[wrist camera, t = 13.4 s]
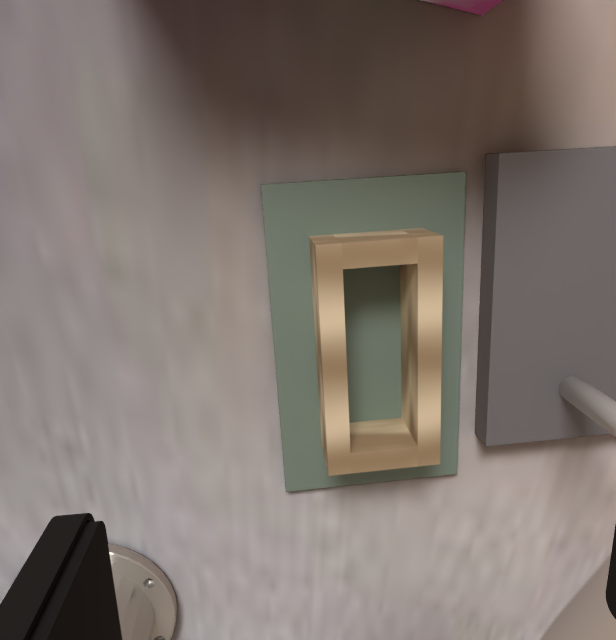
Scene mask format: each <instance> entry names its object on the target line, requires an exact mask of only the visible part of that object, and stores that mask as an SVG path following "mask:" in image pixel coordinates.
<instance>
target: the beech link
mask: <svg viewBox="0 0 616 640" xmlns="http://www.w3.org/2000/svg"><path fill="white" fill-rule="evenodd" d="M309 245H310V261H311V278H312V294H313V311H314V327H315V344H316V360H317V377H318V393H319V409H320V426H321V442H322V448H323V453H324V457H325V462H326V466H327V471H328V475H329V476H333V475H342V474H351V473H361V472H370V471H380V470H389V469H399V468H408V467H418V466H427V465H437V464H440V437H441V367H442V296H443V235H440V234H438V233H435V232H432V231H430V230H427V229H424V228H413V229H400V230H386V231H373V232H359V233H346V234H332V235H319V236H309ZM391 265H400V309H401V408H402V418H393V419H383V420H373V421H363V422H353V423H349V403H348V379H347V356H346V332H345V309H344V286H343V269H353V268H366V267H378V266H391Z"/></svg>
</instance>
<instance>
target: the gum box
mask: <svg viewBox="0 0 616 640" xmlns="http://www.w3.org/2000/svg"><path fill="white" fill-rule="evenodd" d="M421 1H425V2H430V3H434V4H439V5H443V6H447V7H451V8H455V9H458V10H462V11H466V12H470V13H474V14H477V15H480V16H481V15H483V14H484V13H486V12H487V11H489V10H490V9H492V8H493V7H494V6H496V5H497V4H499V3H500V2H502V1H503V0H421Z"/></svg>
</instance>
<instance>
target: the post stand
mask: <svg viewBox="0 0 616 640" xmlns="http://www.w3.org/2000/svg"><path fill="white" fill-rule="evenodd" d="M475 434H476V435H477V436H478V437H479V439H480V440H481V441H482V442H483V443H484V445H485V446H495V445H505V444H515V443H525V442H535V441H545V440H555V439H565V438H575V437H584V436H594V435H604V434H612V435H613V436H614V437H615V438H616V146H612V147H595V148H579V149H563V150H546V151H530V152H513V153H497V154H486V158H485V184H484V210H483V235H482V261H481V286H480V312H479V338H478V363H477V389H476V415H475Z"/></svg>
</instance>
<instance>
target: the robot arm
mask: <svg viewBox="0 0 616 640" xmlns="http://www.w3.org/2000/svg"><path fill="white" fill-rule="evenodd" d="M606 601H607V604H608V607H609V610H610V611H611V613H612V615H613V616H614V618H615V619H616V526H615V533H614V539H613V546H612V553H611V560H610V567H609V575H608V581H607V588H606ZM176 617H177V602H176V596H175V593H174V590H173V588H172V586H171V583H170V582H169V580H168V579H167V577H166V576H165V575H164V573H163V572H162V571H161V570H160V569H159V568H158V567H157V566H156V565H155V564H154V563H153V562H151V561H150V560H148V559H147V558H145V557H144V556H142V555H141V554H139V553H137V552H134V551H132V550H129V549H127V548H125V547H121V546H117V545H113V544H109V543H108V540H107V534H106V528H105V524H104V522H103V521H96V522H94V518H93V516H92V514H90V513H85V514H73V515H62V516H55V517H53V518H52V519H51V521H50V522H49V524H48V525H47V527H46V529H45V531H44V532H43V534H42V536H41V537H40V539H39V541H38V542H37V544H36V546H35V547H34V549H33V551H32V552H31V554H30V556H29V557H28V559H27V561H26V562H25V564H24V566H23V567H22V569H21V571H20V572H19V574H18V576H17V577H16V579H15V581H14V583H13V584H12V586H11V588H10V589H9V591H8V593H7V594H6V596H5V598H4V599H3V601H2V603H1V604H0V640H170V639H171V637H172V635H173V632H174V627H175V623H176Z"/></svg>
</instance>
